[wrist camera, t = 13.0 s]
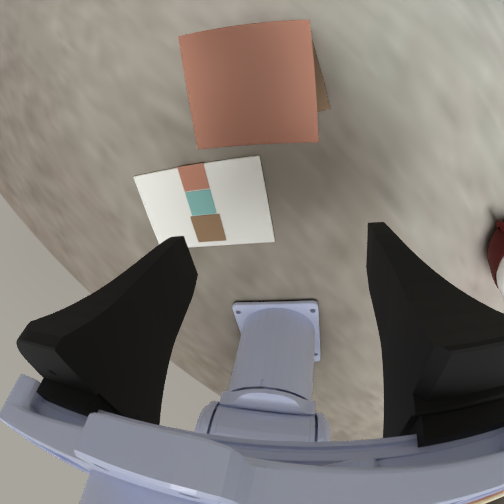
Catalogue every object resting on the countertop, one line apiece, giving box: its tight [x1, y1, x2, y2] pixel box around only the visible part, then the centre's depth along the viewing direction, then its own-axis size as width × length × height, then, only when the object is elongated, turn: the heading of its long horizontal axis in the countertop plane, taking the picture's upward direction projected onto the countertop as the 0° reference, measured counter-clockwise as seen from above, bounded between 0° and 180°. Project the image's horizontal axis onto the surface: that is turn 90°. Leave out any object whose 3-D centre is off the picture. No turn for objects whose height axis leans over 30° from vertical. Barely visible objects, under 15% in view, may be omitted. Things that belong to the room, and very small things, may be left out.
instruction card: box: [134, 155, 275, 247], centre depth 23 cm, size 7×10×1 cm
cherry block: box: [178, 20, 319, 149], centre depth 10 cm, size 4×4×4 cm
